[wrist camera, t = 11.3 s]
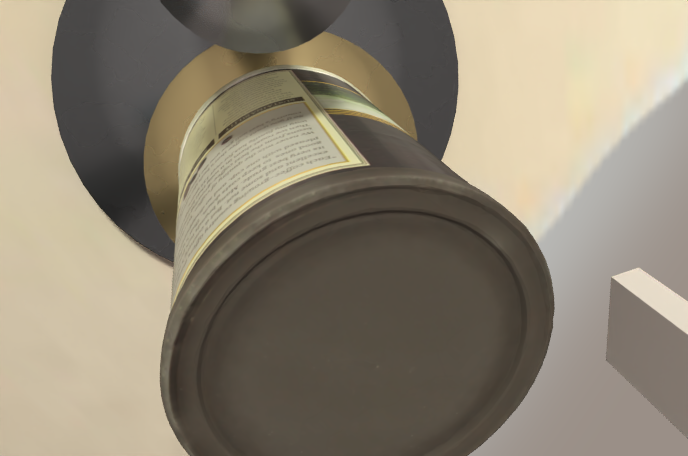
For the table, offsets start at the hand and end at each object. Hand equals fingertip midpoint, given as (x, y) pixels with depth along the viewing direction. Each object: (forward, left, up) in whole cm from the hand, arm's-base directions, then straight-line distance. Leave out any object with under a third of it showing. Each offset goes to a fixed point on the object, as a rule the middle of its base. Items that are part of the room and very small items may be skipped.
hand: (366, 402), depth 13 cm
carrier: (0, +3, -16) cm, 17 cm away
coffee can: (0, 0, -15) cm, 15 cm away
